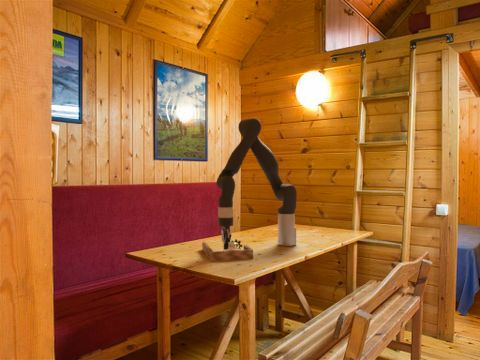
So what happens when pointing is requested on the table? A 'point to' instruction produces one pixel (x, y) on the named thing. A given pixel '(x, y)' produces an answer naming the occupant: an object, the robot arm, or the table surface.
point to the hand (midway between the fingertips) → (226, 251)
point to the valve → (234, 244)
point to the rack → (227, 253)
